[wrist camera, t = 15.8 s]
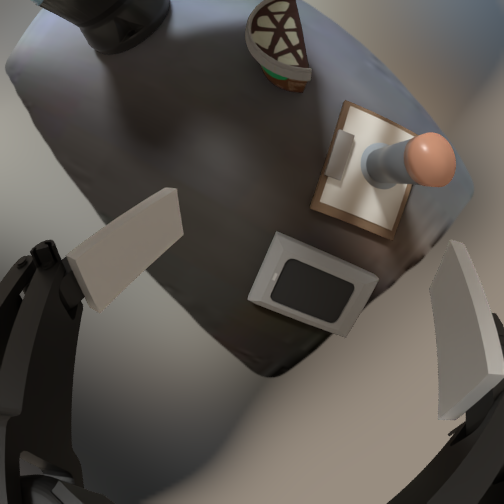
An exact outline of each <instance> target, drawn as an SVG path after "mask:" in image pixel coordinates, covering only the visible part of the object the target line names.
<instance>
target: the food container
mask: <svg viewBox="0 0 504 504" xmlns="http://www.w3.org/2000/svg"><path fill="white" fill-rule="evenodd" d="M245 40H246V45H247V47H248V49H249V51H250V53H251V54H252V56H253V57H254V58H255V59H256V60H257V61H258V62H259V63H260V65H261V67H262V70H263V72H264V74H265V76H266V77H267V78H268V80H269V81H270V82H272V83H273V84H274V85H276V86H277V87H279V88H281V89H284V90H287V91H290V92H297V93H303V91H304V88H305V86H306V83H307V81H311V71H312V68H309V64H308V60H307V55H306V49H305V43H304V37H303V31H302V26H301V22H300V18H299V13H298V9H297V4H296V0H264V1H262V2H261V3H260V4H258V5H257V6H256V7H255V9H254V10H253V11H252V13H251V14H250V16H249V18H248V21H247V25H246V30H245Z"/></svg>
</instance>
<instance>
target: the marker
mask: <svg viewBox="0 0 504 504" xmlns="http://www.w3.org/2000/svg"><path fill="white" fill-rule="evenodd" d="M366 168H367V172H368V174H369V175H370V177H371V178H372V179H373V180H375V181H376V182H379V183H391V184H415V185H422V186H430V187H442V186H445V185H447V184H448V183H449V182H450V181H451V180H452V178H453V176H454V173H455V169H456V160H455V155H454V152H453V149H452V147H451V146H450V144H449V143H448V141H447V140H446V139H445V138H444V137H442V136H441V135H439V134H437V133H426V134H422V135H419V136H415V137H413V138H412V139H409V140H406V141H402V142H399V143H395V144H392V145H389V146H386V147H382V148H379V149H376V150H374V151H372V152H371V153H370V154H369V155H368V157H367V160H366Z"/></svg>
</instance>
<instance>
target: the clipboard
mask: <svg viewBox="0 0 504 504" xmlns="http://www.w3.org/2000/svg"><path fill="white" fill-rule="evenodd" d="M415 136H419V135H417V134H415V133H413V132H412V131H410V130H408V129H406V128H404V127H402V126H400V125H399V124H397V123H395V122H393V121H391V120H389V119H387V118H385V117H383V116H380V115H378V114H376V113H374V112H372V111H370V110H368V109H365V108H363V107H361V106H358V105H356V104H354V103H351V102H349V101H346V100H345V101H344V102H343V105H342V109H341V112H340V115H339V119H338V122H337V125H336V128H335V132H334V135H333V138H332V141H331V144H330V147H329V150H328V154H327V157H326V160H325V163H324V166H323V169H322V172H321V175H320V178H319V181H318V184H317V187H316V190H315V193H314V196H313V198H312V201H311V204H310V207H309V208H310V209H313V210H316V211H318V212H321V213H324V214H327V215H329V216H332V217H335V218H337V219H340V220H342V221H345V222H348V223H350V224H353V225H355V226H358V227H360V228H363V229H365V230H368V231H370V232H373V233H375V234H377V235H380V236H382V237H385V238H387V239H389V240H392V241H393V239H394V236H395V233H396V231H397V228H398V225H399V222H400V220H401V217H402V214H403V211H404V208H405V205H406V202H407V199H408V196H409V193H410V189H411V186H412V184H391V183H379V182H376V181H375V180H373V179H372V178H371V177H370V175H369V174H368V172H367V168H366V160H367V157H368V155H369V154H370V153H371V152H372V151H374V150H376V149H379V148H382V147H386V146H389V145H392V144H395V143H399V142H402V141H406V140H409V139H412V138H413V137H415Z"/></svg>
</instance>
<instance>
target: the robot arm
mask: <svg viewBox="0 0 504 504" xmlns="http://www.w3.org/2000/svg"><path fill="white" fill-rule="evenodd" d="M31 1H33V2H34V3H36V5H38V6H40V7H42V8H44V9H46V10H48V11H50V12H52V13H54V14H56V15H58V16H60V17H62V18H64V19H66V20H67V21H69V22H71V23H73V24H75V25H76V26H78V27H79V28H80V30H81V32H82V33H83V35H84V37H85V38H86V40H87V41H88V44H89V45H90V46H91V47H92V48H93V49H95V50H97V51H98V52H100V53H103V54H117V53H120V52H123V51H126V50H128V49H130V48H132V47H134V46H136V45H138V44H139V43H141V42H142V41H143V40H145V39H146V38H147V37H149V36H150V35H151V34H152V33H153V32H154V31H155V30H156V29H157V28H158V27H159V25H160V24H161V23H162V21H163V20H164V18H165V17H166V15H167V12H168V9H169V0H31ZM183 235H184V234H183V228H182V222H181V215H180V209H179V202H178V195H177V189H175V188H164V189H162V190H160V191H159V192H157V193H155V194H154V195H152V196H150V197H149V198H147V199H146V200H144V201H142V202H141V203H139V204H138V205H136V206H135V207H133V208H132V209H130V210H128V211H127V212H125V213H124V214H122V215H121V216H119V217H118V218H116V219H115V220H113V221H112V222H111V223H109V224H108V225H106V226H105V227H103V228H102V229H100V230H99V231H98V232H96V233H95V234H93V235H92V236H91V237H89V238H88V239H87V240H85V241H84V242H83V243H81V244H80V245H79V246H77V247H76V248H75V249H73V250H72V251H71V252H69V253H68V254H67V255H66V257H65V258H64V259H62V260H61V258H60V255H59V253H58V250H57V248H56V245H55V243H54V241H53V240H46V241H43V242H41V243H39V244H37V245H36V246H35V247H34V248H32V250H31V251H30V253H31V255H32V256H29V255H28V256H23V257H21V258H20V259H19V260H18V261H17V262H16V263H15V264H14V265H13V267H12V268H11V269H10V270H9V272H8V273H7V274H6V276H5V277H4V278H3V280H2V281H1V282H0V504H115V503H114V502H112V501H111V500H110V499H108V498H107V497H106V496H104V495H103V494H99V493H95V492H92V491H89V490H87V489H84V484H83V478H82V477H83V476H82V469H81V464H80V461H79V459H78V457H77V456H76V454H75V453H74V451H73V448H72V441H71V408H72V387H73V374H74V363H75V355H76V347H77V340H78V334H79V327H80V322H81V316H82V311H83V304H82V302H81V300H82V299H83V298H84V297H85V299H86V301H87V303H88V305H89V307H90V308H92V309H93V310H95V311H97V312H99V313H101V312H102V311H103V310H104V309H105V308H106V307H107V306H108V305H109V304H110V303H111V302H112V301H113V300H114V299H115V298H116V297H117V296H118V295H119V294H120V293H121V292H122V291H123V290H124V289H125V288H126V287H127V286H128V285H129V284H130V283H131V282H132V281H134V280H135V279H136V278H137V277H138V276H139V275H140V274H141V273H142V272H143V271H144V270H145V269H146V268H147V267H148V266H150V265H151V264H152V263H153V262H154V261H155V260H156V259H157V258H158V257H159V256H160V255H161V254H163V253H164V252H165V251H166V250H167V249H168V248H169V247H170V246H171V245H173V244H174V243H175V242H176V241H177V240H178V239H179V238H180V237H182V236H183ZM22 290H23V292H24V294H25V296H24V299H23V300H22V298H21V296H20V295H19V294H20V293H21V291H22ZM429 290H430V296H431V302H432V309H433V316H434V323H435V332H436V343H437V356H438V376H439V377H438V378H439V405H438V420H456V419H458V418H459V417H460V416H461V415H463V414H464V413H465V412H466V421H465V422H464V423H462V424H461V425H459V426H458V427H457V428H455V429H454V430H452V431H451V432H450V433H449V434H448V435H449V436H450V435H452V434H454V435H453V436H452V437H451V438H450V440H449V441H448V442H447V443H446V445H445V446H444V447H443V448H442V449H441V451H440V452H439V453H438V454H437V455H436V456H435V458H434V459H433V460H432V461H431V462H430V463H429V464H428V465H427V466H426V467H425V468H424V470H422V471H421V473H419V474H418V476H417V477H416V478H414V480H412V481H411V482H410V483H409V484H408V485H407V486H406V487H405V488H404V489H403V490H402V491H401V492H400V493H398V494H397V495H396V496H395V497H394V498H393V499H392V500H390V501H389V502H388V503H387V504H504V327H503V324H502V323H501V321H500V319H499V318H498V316H497V315H496V314H495V313H491V310H490V306H489V303H488V301H487V298H486V295H485V292H484V289H483V287H482V284H481V282H480V279H479V277H478V274H477V272H476V270H475V267H474V265H473V262H472V260H471V258H470V256H469V253H468V251H467V249H466V247H465V245H464V243H461V242H457V241H454V240H449V243H448V246H447V249H446V251H445V254H444V256H443V259H442V261H441V264H440V266H439V268H438V271H437V273H436V275H435V278H434V280H433V282H432V284H431V286H430V288H429ZM19 458H21V459H23V460H25V461H27V462H29V463H31V464H33V465H35V466H37V467H39V468H40V469H41V470H42V472H43V474H44V475H24V476H20V469H19Z"/></svg>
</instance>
